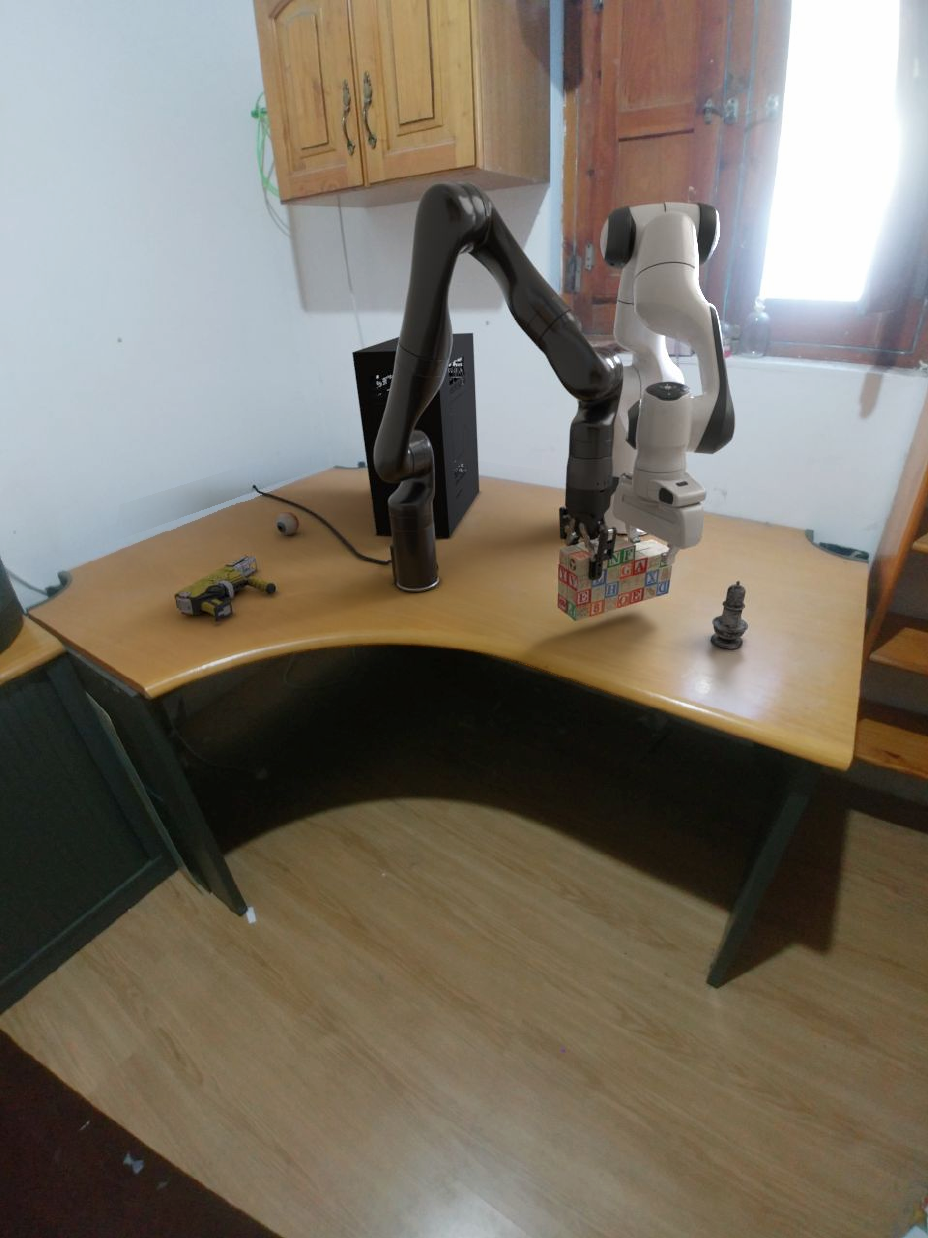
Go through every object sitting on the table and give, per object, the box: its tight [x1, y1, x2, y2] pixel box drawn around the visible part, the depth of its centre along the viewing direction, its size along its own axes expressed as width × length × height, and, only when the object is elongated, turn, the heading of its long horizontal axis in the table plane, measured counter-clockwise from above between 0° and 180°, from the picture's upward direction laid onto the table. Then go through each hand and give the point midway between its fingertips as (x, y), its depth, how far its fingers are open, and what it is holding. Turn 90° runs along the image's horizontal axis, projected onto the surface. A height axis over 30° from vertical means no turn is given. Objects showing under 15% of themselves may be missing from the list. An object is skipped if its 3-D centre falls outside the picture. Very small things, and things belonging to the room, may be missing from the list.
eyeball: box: [275, 511, 300, 536], centre depth 163 cm, size 6×6×6 cm
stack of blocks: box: [557, 534, 673, 622], centre depth 112 cm, size 21×6×12 cm, turn 115°
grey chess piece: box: [710, 580, 749, 650], centre depth 105 cm, size 6×6×12 cm
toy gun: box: [173, 554, 277, 622], centre depth 133 cm, size 5×24×15 cm
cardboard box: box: [351, 332, 480, 539], centre depth 164 cm, size 38×20×45 cm, turn 167°
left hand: (583, 571), depth 108 cm, fingers closed on stack of blocks, 6 cm apart
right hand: (650, 554), depth 113 cm, fingers open, 8 cm apart
